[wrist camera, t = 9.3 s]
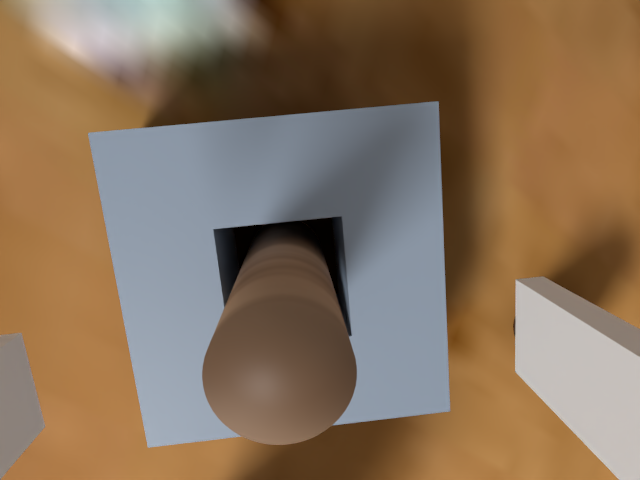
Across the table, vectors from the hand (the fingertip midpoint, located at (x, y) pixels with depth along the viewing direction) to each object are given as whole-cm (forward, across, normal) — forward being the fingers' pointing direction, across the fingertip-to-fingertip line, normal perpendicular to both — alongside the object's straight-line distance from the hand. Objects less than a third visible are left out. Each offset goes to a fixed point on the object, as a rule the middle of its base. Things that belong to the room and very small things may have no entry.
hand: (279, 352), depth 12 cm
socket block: (+14, 0, -1) cm, 14 cm away
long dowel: (+14, 0, -1) cm, 14 cm away
